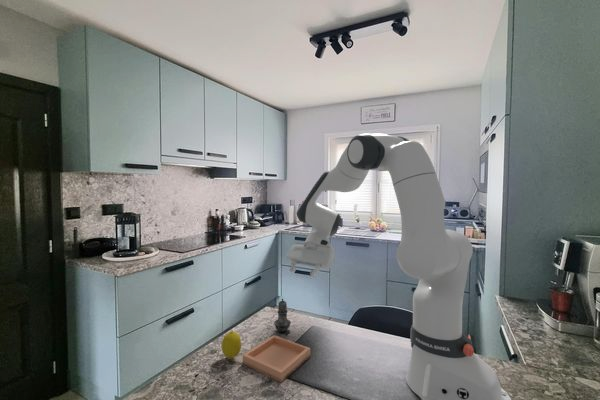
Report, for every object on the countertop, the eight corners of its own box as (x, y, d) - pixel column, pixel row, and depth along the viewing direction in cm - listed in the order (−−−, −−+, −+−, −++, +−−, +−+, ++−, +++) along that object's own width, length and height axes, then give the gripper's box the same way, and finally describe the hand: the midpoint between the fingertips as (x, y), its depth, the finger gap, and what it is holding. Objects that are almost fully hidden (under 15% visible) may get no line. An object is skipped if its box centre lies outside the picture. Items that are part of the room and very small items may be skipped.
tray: (310, 356, 81) (310, 348, 81) (281, 382, 69) (281, 372, 69) (274, 342, 89) (274, 335, 89) (242, 363, 77) (242, 354, 77)
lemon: (236, 365, 76) (236, 336, 76) (218, 362, 78) (218, 334, 78) (244, 354, 82) (244, 327, 82) (227, 352, 83) (227, 326, 83)
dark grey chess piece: (290, 336, 93) (290, 301, 93) (273, 336, 93) (273, 301, 93) (291, 328, 98) (291, 295, 99) (275, 328, 99) (275, 295, 99)
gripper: (291, 238, 118) (277, 265, 110) (334, 242, 107) (321, 273, 99) (297, 247, 122) (284, 273, 114) (338, 252, 110) (327, 282, 102)
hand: (301, 273), depth 106 cm, fingers open, 8 cm apart
